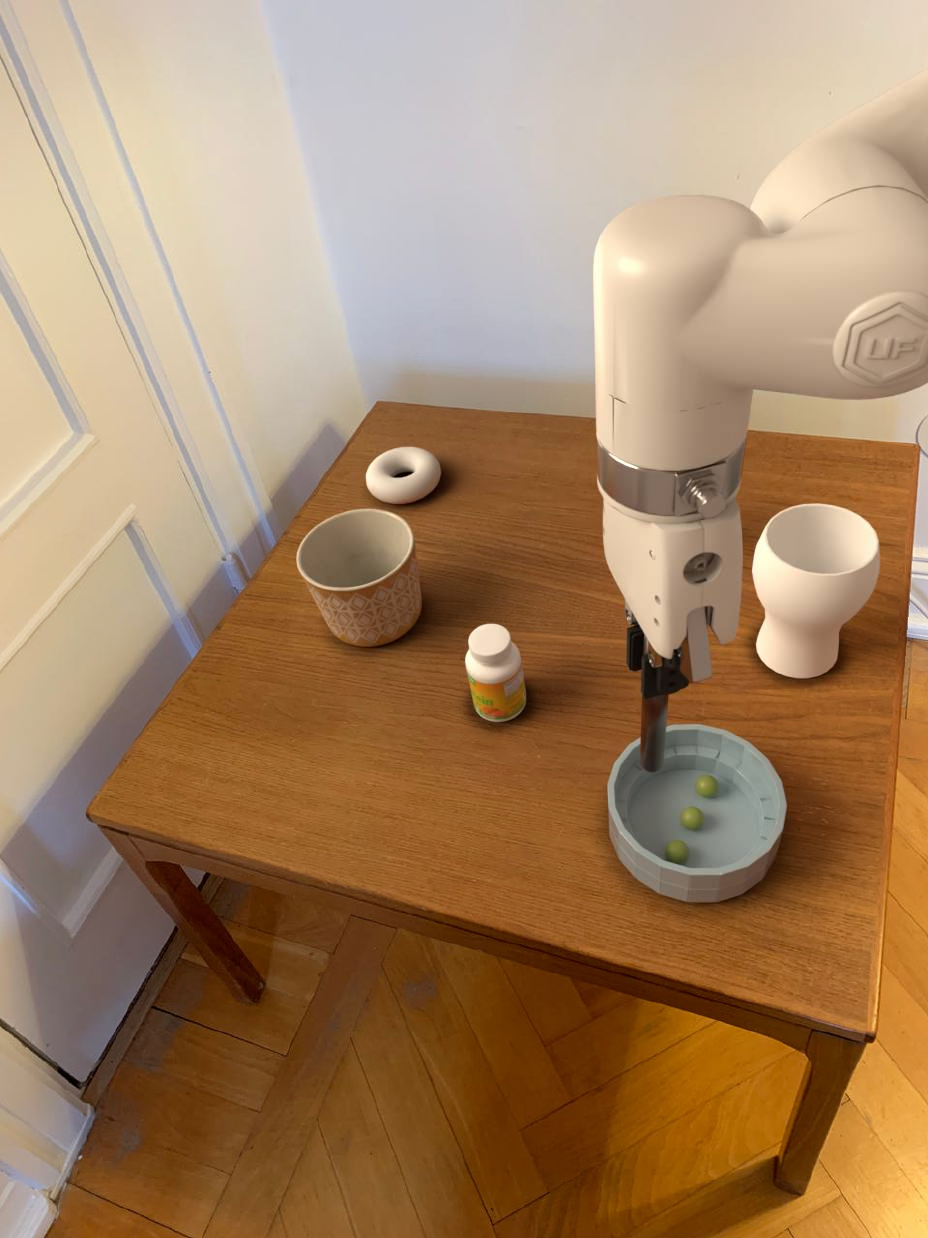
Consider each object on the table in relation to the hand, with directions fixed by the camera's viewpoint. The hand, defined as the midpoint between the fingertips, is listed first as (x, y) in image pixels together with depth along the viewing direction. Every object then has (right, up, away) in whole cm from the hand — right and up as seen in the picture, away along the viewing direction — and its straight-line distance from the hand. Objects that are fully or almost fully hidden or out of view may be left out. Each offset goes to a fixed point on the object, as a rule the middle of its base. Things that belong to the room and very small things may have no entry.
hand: (657, 675), depth 58 cm
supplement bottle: (-9, -5, +29) cm, 31 cm away
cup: (+20, +1, +28) cm, 35 cm away
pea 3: (+8, -11, +17) cm, 22 cm away
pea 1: (+5, -16, +14) cm, 21 cm away
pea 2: (+7, -13, +15) cm, 21 cm away
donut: (-21, +21, +56) cm, 63 cm away
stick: (+1, -8, +8) cm, 11 cm away
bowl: (+7, -14, +17) cm, 23 cm away
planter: (-23, +4, +40) cm, 46 cm away
